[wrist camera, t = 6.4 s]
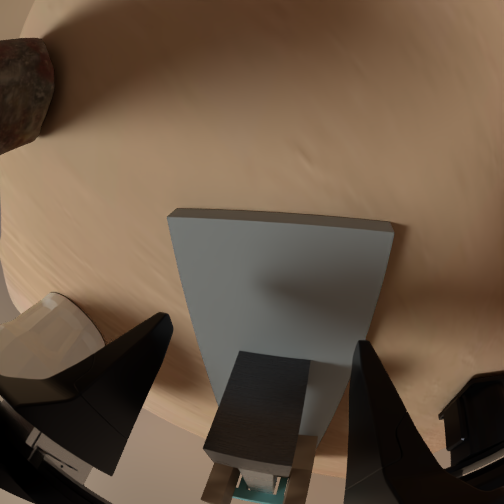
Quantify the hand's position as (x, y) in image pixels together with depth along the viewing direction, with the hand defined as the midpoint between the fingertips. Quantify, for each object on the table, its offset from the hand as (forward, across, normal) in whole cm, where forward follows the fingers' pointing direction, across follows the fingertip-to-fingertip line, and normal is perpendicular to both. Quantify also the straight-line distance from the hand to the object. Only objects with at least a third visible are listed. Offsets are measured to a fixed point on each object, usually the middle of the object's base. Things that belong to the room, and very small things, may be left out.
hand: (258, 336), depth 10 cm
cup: (+5, +21, +10) cm, 24 cm away
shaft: (+4, 0, +7) cm, 8 cm away
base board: (+4, 0, +14) cm, 14 cm away
